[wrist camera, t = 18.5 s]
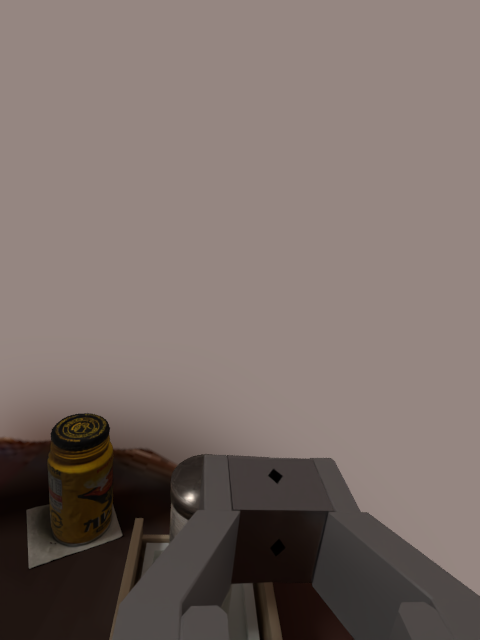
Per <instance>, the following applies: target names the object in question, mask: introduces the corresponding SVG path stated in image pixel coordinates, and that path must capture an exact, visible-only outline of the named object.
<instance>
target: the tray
mask: <svg viewBox="0 0 480 640" xmlns="http://www.w3.org/2000/svg"><path fill="white" fill-rule="evenodd" d="M168 545H169V543H147V544H146V550H145V556H144V562H143V568H142V574H141V578H142V576H143V575H144V574H145V573H146V572H147V570H148V569H149V568H150V567H151V566H152V564H153V563H154V562H155V561H156V559H157V558H158V557H159V556H160V555H161V553H162V552H163V551H164V550H165V549H166V547H167V546H168ZM228 632H229V640H260V639H259V631H258V623H257V615H256V607H255V599H254V591H253V583H243V584H232V592H231V599H230V607H229V614H228Z"/></svg>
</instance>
